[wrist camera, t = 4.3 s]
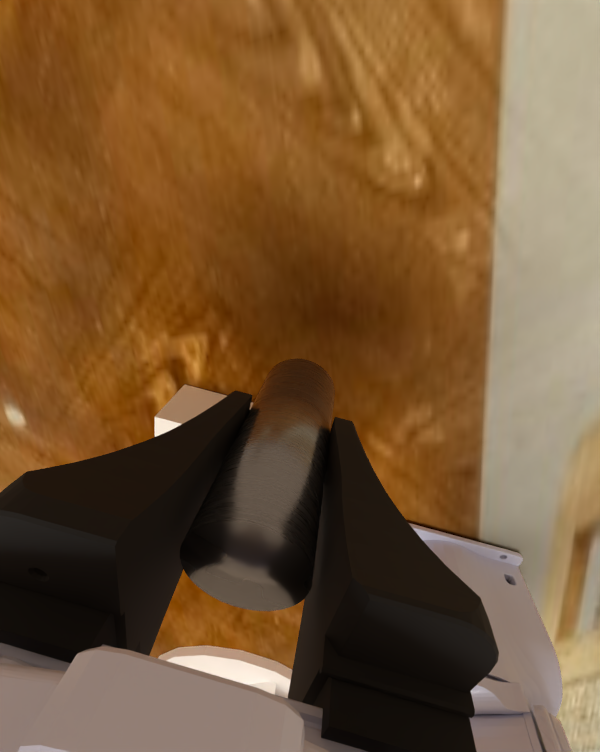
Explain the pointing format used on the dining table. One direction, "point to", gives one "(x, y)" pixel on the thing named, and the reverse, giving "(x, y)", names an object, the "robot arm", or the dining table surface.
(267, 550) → the peg
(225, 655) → the dish
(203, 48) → the dining table surface
